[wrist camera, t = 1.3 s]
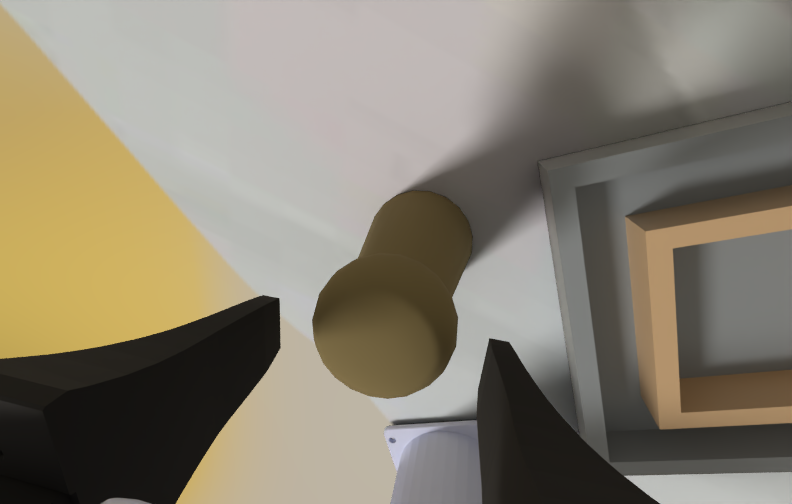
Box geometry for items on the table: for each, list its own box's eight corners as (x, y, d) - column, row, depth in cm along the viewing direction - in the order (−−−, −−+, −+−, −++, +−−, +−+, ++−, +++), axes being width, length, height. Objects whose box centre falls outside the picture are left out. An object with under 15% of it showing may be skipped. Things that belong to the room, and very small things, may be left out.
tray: (949, 417, 20) (1033, 472, 17) (579, 435, 25) (593, 481, 22) (1027, 46, 15) (1170, 30, 12) (537, 161, 20) (548, 171, 17)
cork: (379, 291, 24) (308, 425, 14) (361, 196, 22) (264, 273, 12) (477, 285, 23) (477, 430, 13) (467, 183, 21) (458, 259, 11)
